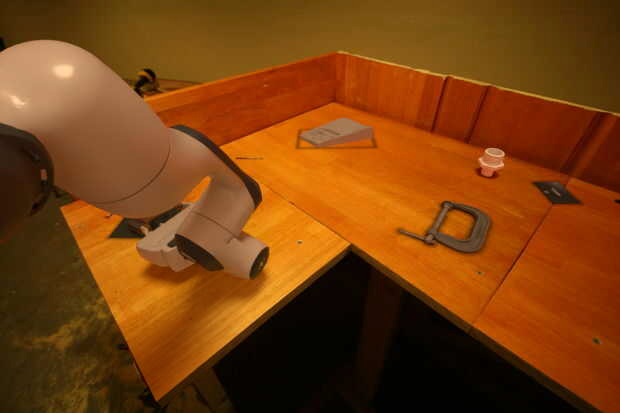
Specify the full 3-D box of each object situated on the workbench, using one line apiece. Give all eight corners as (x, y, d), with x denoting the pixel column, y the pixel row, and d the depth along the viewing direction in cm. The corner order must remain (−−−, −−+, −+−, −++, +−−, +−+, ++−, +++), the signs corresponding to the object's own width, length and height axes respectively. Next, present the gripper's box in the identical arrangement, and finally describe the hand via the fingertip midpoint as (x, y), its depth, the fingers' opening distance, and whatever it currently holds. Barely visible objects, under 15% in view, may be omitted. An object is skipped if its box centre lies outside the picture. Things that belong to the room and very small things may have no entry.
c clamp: (469, 268, 66) (473, 259, 64) (397, 233, 75) (399, 225, 73) (496, 220, 78) (500, 212, 76) (431, 195, 87) (434, 187, 85)
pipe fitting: (492, 169, 97) (501, 146, 92) (500, 181, 91) (511, 158, 86) (471, 168, 97) (479, 146, 92) (478, 181, 92) (487, 157, 87)
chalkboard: (109, 239, 76) (108, 237, 75) (135, 206, 86) (134, 204, 85) (196, 240, 75) (195, 237, 74) (211, 207, 85) (210, 204, 84)
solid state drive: (552, 204, 82) (553, 202, 81) (532, 183, 90) (533, 181, 89) (579, 204, 82) (580, 202, 81) (556, 183, 89) (558, 181, 89)
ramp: (297, 149, 110) (297, 136, 107) (299, 131, 122) (299, 118, 119) (375, 148, 109) (376, 134, 106) (369, 130, 121) (370, 117, 118)
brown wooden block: (142, 236, 75) (126, 205, 69) (129, 230, 77) (113, 198, 71) (168, 217, 81) (155, 186, 74) (155, 212, 83) (142, 181, 76)
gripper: (233, 198, 70) (192, 182, 76) (159, 256, 57) (115, 231, 62) (238, 219, 74) (198, 202, 80) (169, 278, 61) (128, 252, 66)
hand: (161, 215), depth 71 cm, fingers open, 8 cm apart
